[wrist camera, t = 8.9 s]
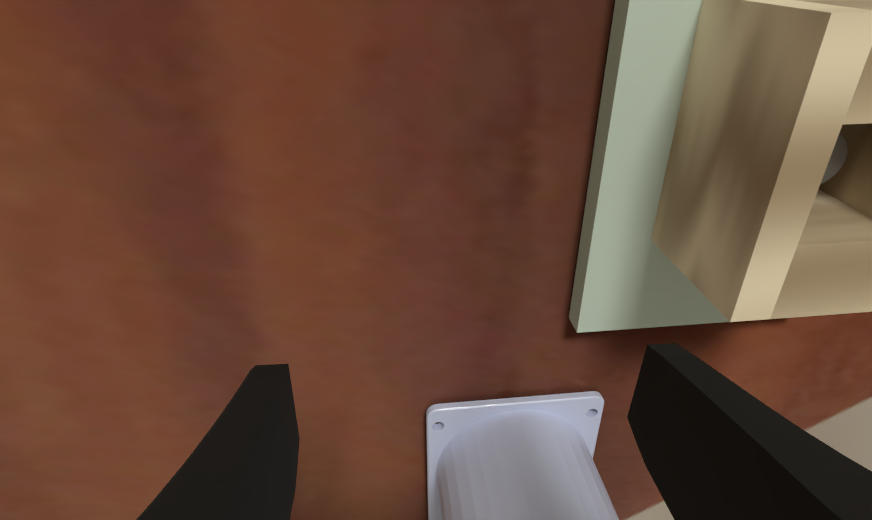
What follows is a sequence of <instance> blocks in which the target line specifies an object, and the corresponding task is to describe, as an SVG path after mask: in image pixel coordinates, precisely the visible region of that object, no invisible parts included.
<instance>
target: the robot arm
mask: <svg viewBox="0 0 872 520" xmlns="http://www.w3.org/2000/svg"><path fill="white" fill-rule="evenodd" d="M603 406H604V400H603V398H602V396H601V394H600V393H598V392H596V391H590V392H577V393H565V394H553V395H541V396H528V397H516V398H504V399H492V400H480V401H467V402H455V403H443V404H435V405H432V406H430V407H429V408H428V409H427V411H426V438H427V489H428V520H619V519H618V516H617V514H616V512H615V509H614V507H613V505H612V502H611V500H610V498H609V496H608V493H607V491H606V489H605V486H604V484H603V482H602V480H601V477H600V475H599V473H598V470H597V468H596V466H595V463H594V461H593V454H594V450H595V445H596V440H597V435H598V430H599V426H600V421H601V416H602V411H603ZM591 409H592V410H591ZM589 410H590V411H589ZM628 420H629V423H630V426H631V429H632V431H633V434H634V437H635V440H636V442H637V445H638V447H639V450H640V452H641V455H642V457H643V460H644V462H645V465H646V467H647V469H648V471H649V472H650V474H651V476H652V478H653V480H654V482H655V484H656V486H657V488H658V490H659V492H660V493H661V495H662V497H663V499H664V501H665V503H666V505H667V507H668V508H669V510H670V512H671V514H672V516H673V518H674V520H872V471H870V470H868V469H866V468H864V467H863V466H861V465H859V464H858V463H856V462H854V461H852V460H851V459H849V458H847V457H846V456H844V455H842V454H841V453H839V452H837V451H836V450H834V449H833V448H831V447H830V446H828V445H826V444H825V443H823V442H822V441H820V440H818V439H817V438H815V437H814V436H812V435H810V434H809V433H807V432H806V431H804V430H803V429H801V428H799V427H798V426H796V425H795V424H793V423H792V422H790V421H789V420H787V419H786V418H784V417H783V416H781V415H780V414H778V413H777V412H775V411H774V410H772V409H771V408H769V407H768V406H767V405H765V404H764V403H762V402H761V401H759V400H758V399H756V398H755V397H753V396H752V395H751V394H749V393H748V392H746V391H745V390H743V389H742V388H740V387H739V386H738V385H736V384H735V383H733V382H732V381H731V380H729V379H728V378H726V377H725V376H723V375H722V374H721V373H719V372H718V371H716V370H715V369H713V368H712V367H711V366H709V365H708V364H706V363H705V362H703V361H702V360H700V359H699V358H698V357H696V356H695V355H693V354H692V353H690V352H689V351H687V350H686V349H684V348H682V347H681V346H679V345H678V344H676V343H673V344H654V345H647V348H646V352H645V355H644V359H643V362H642V366H641V370H640V373H639V377H638V380H637V384H636V388H635V391H634V395H633V399H632V402H631V406H630V409H629V413H628ZM436 422H441V423H438V424H434V423H436ZM298 451H299V433H298V426H297V420H296V413H295V406H294V400H293V393H292V386H291V379H290V373H289V366H288V364H276V365H257V366H255V367H254V368H253V369H251V370H250V372H249V373H248V375H247V377H246V378H245V380H244V381H243V383H242V384H241V386H240V387H239V389H238V390H237V392H236V393H235V395H234V396H233V398H232V399H231V401H230V402H229V404H228V405H227V406H226V408H225V409H224V411H223V412H222V414H221V415H220V416H219V418H218V419H217V421H216V422H215V423H214V425H213V426H212V427H211V429H210V430H209V431H208V433H207V434H206V435H205V437H204V438H203V439H202V441H201V442H200V443H199V445H198V446H197V447H196V449H195V450H194V451H193V453H192V454H191V455H190V457H189V458H188V459H187V460H186V462H185V463H184V464H183V465H182V467H181V468H180V469H179V470H178V471H177V473H176V474H175V475H174V476H173V477H172V479H171V480H170V481H169V482H168V483H167V485H166V486H165V487H164V488H163V490H162V491H161V492H160V493H159V494H158V496H157V497H156V498H155V499H154V500H153V502H152V503H151V504H150V505H149V506H148V507H147V508H146V509H145V511H144V512H143V513H142V514H141V515H140V516H139V517H138V518H137V520H289V519H290V514H291V509H292V504H293V499H294V493H295V486H296V475H297V463H298Z"/></svg>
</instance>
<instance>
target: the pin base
mask: <svg viewBox="0 0 872 520" xmlns="http://www.w3.org/2000/svg"><path fill="white" fill-rule="evenodd" d="M702 1H703V0H615V6H614V13H613V20H612V27H611V33H610V40H609V47H608V54H607V61H606V68H605V74H604V81H603V88H602V95H601V102H600V109H599V115H598V122H597V129H596V136H595V143H594V149H593V156H592V163H591V170H590V177H589V184H588V190H587V197H586V204H585V211H584V218H583V224H582V231H581V238H580V245H579V252H578V259H577V265H576V272H575V279H574V286H573V293H572V299H571V306H570V313H569V319H570V321H571V323H572V325H573V327H574V328H575V330H576V332H577V333H581V332H595V331H609V330H623V329H637V328H651V327H665V326H678V325H692V324H706V323H720V322H730V321H729V320H728V319H727V318H726V317H725V316H724V315H723V314H722V313H721V312H720V311H719V310H718V309H717V308H716V307H715V306H714V305H713V304H712V303H711V302H710V301H709V300H708V299H707V298H706V297H705V295H704V294H703V293H702V292H701V291H700V290H699V289H698V288H697V287H696V286H695V285H694V284H693V283H692V282H691V281H690V280H689V279H688V278H687V277H686V276H685V275H684V274H683V273H682V272H681V270H680V269H679V268H678V267H677V266H676V265H675V264H674V263H673V262H672V261H671V260H670V259H669V258H668V257H667V256H666V255H665V254H664V253H663V252H662V251H661V250H660V249H659V248H658V247H657V246H656V244H655V243H654V242H653V241H652V240H651V237H652V232H653V228H654V223H655V219H656V214H657V209H658V205H659V200H660V195H661V191H662V186H663V181H664V177H665V172H666V168H667V163H668V158H669V154H670V149H671V144H672V140H673V135H674V131H675V126H676V121H677V117H678V112H679V107H680V103H681V98H682V93H683V89H684V84H685V80H686V75H687V70H688V66H689V61H690V56H691V52H692V47H693V43H694V38H695V33H696V29H697V24H698V19H699V15H700V10H701V5H702ZM847 152H848V146H847V142H846V140H845V139H844V137H843V136H841V135H840V134H839V135H838V138H837V141H836V143H835V146H834V149H833V152H832V154H831V157H830V160H829V162H828V165H827V168H826V170H825V173H824V176H823V178H822V181H821V184H822V183H824V182H826V181H827V180H829V179H830V178H832V177H833V176H834V175H835V174H836V173H837V172H838V171H839V170H840V168H841V167H842V165H843V164H844V162H845V159H846V156H847Z"/></svg>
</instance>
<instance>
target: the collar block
mask: <svg viewBox="0 0 872 520" xmlns="http://www.w3.org/2000/svg"><path fill="white" fill-rule="evenodd" d="M839 134H840V135H841V136H843V137H844V139H845V140H846V142H847V146H848V152H847V156H846V159H845V162H844V164H843V165H842V167H841V168H840V170H839V171H838V172H837V173H836V174H835V175H834V176H833V177H832V178H830V179H829V180H827V181H826V182H824V183H822V184H821V181H822V178H823V176H824V173H825V170H826V168H827V165H828V162H829V160H830V157H831V154H832V152H833V149H834V146H835V143H836V141H837V138H838V135H839ZM651 240H652V241H653V242H654V243H655V244H656V246H657V247H658V248H659V249H660V250H661V251H662V252H663V253H664V254H665V255H666V256H667V257H668V258H669V259H670V260H671V261H672V262H673V263H674V264H675V265H676V266H677V267H678V268H679V269H680V270H681V272H682V273H683V274H684V275H685V276H686V277H687V278H688V279H689V280H690V281H691V282H692V283H693V284H694V285H695V286H696V287H697V288H698V289H699V290H700V291H701V292H702V293H703V294H704V295H705V297H706V298H707V299H708V300H709V301H710V302H711V303H712V304H713V305H714V306H715V307H716V308H717V309H718V310H719V311H720V312H721V313H722V314H723V315H724V316H725V317H726V318H727V319H728V320H729V321H730V322H739V321H752V320H765V319H779V318H792V317H805V316H818V315H831V314H845V313H858V312H871V311H872V0H703V1H702V5H701V10H700V15H699V19H698V24H697V29H696V33H695V38H694V43H693V47H692V52H691V56H690V61H689V66H688V70H687V75H686V80H685V84H684V89H683V93H682V98H681V103H680V107H679V112H678V117H677V121H676V126H675V131H674V135H673V140H672V144H671V149H670V154H669V158H668V163H667V168H666V172H665V177H664V181H663V186H662V191H661V195H660V200H659V205H658V209H657V214H656V219H655V223H654V228H653V232H652V237H651Z"/></svg>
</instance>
